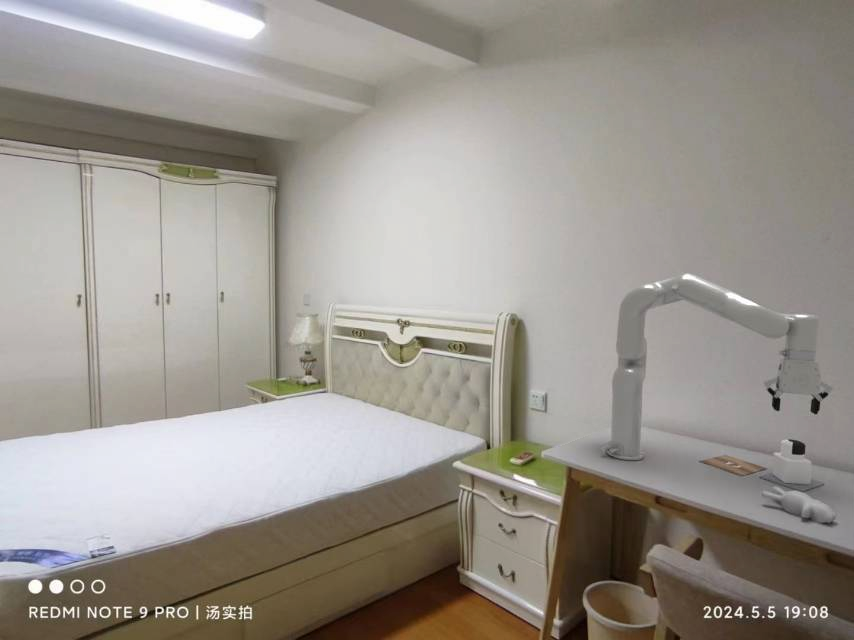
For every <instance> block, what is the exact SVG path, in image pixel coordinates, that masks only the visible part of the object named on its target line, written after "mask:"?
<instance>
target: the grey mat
mask: <svg viewBox="0 0 854 640" xmlns="http://www.w3.org/2000/svg"><path fill="white" fill-rule="evenodd" d="M759 477H760V478H759ZM758 478H759V479H762V478H763V480H765V479H766V480H765V481H768V480H769V481H768V482H771V481H772V482H771V483H774V482H775V483H774V484H777V483H778V484H777V485H780V484H781V485H780V486H783V487H785V486H786V488H788V487H789V489H792V490H793V491H795V490H796V491H800V492H803V493H805V492H807V491H810V490H813V489H816V488H820V487H822V486H824V485H825V483H823V482H821V481H818V480H815V479H810V484H809V485H807V484H790V483H784V482H782V481H781V480H780V479H778V478H777V477H775V476H774V475H773V474H772V472H769V473H766V474H762V475H760V476H758ZM821 485H822V486H821Z"/></svg>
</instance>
